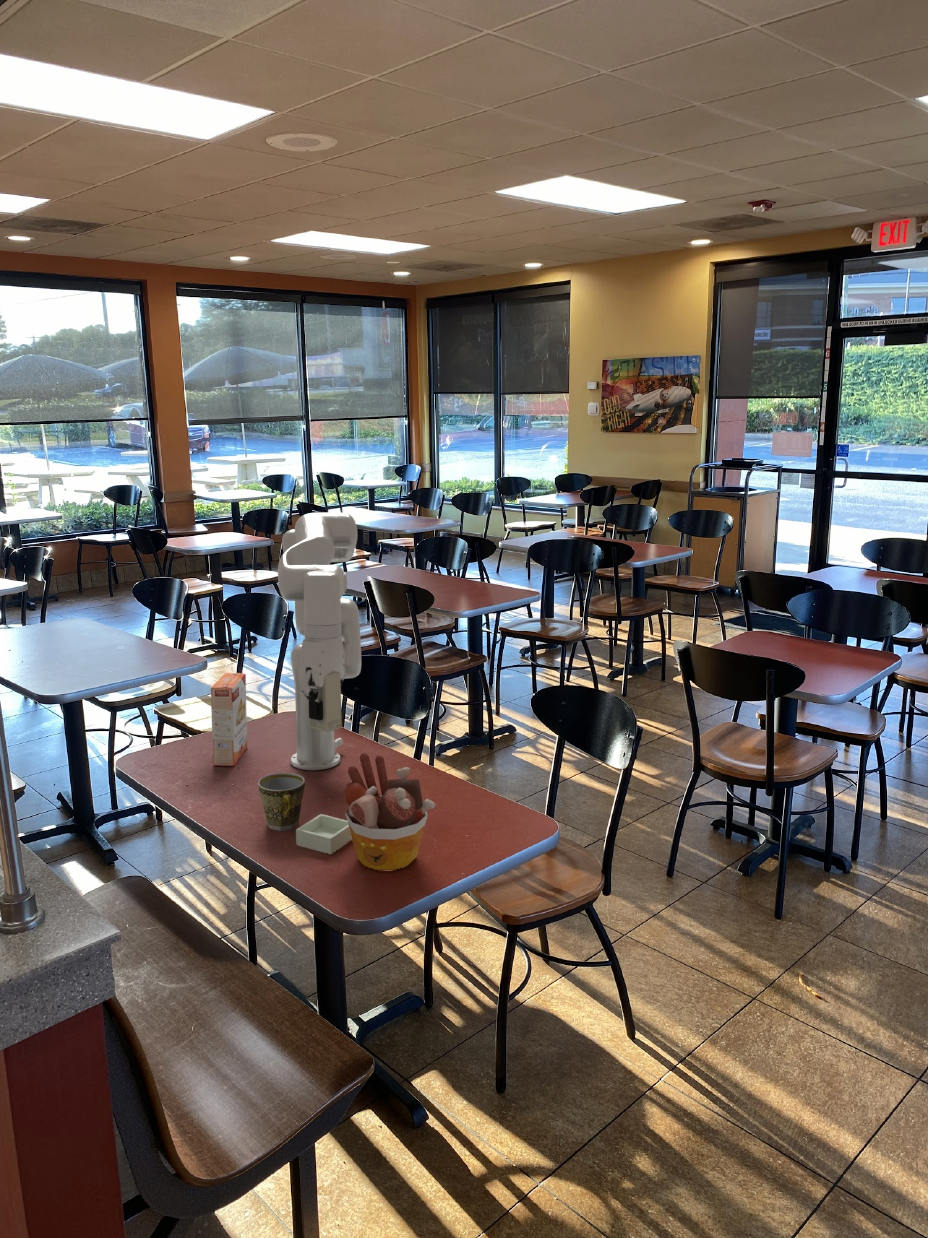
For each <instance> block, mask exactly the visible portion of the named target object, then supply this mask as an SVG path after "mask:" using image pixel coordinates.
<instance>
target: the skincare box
mask: <svg viewBox="0 0 928 1238" xmlns="http://www.w3.org/2000/svg"><path fill="white" fill-rule="evenodd" d="M313 686H315V683H314V685H313ZM341 687H342V686H341V683H340V672H335V673H333V674H330V675H327V676H325V683H324V687H322V695H321V700H320V701H322V702H323V719H322V720H315V719H310V718H309V701H308V719H309V727H312V728H315V729H318V730H321V731H324V732H330V731H333V730H334V731H336V730H337V731H338V730H339V729H342V727H343V723H342V722H343V721H342V716H343V715H342V689H341ZM313 692H314V693H315V694H316V692H317V689H313Z"/></svg>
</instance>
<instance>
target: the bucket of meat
mask: <svg viewBox="0 0 928 1238" xmlns="http://www.w3.org/2000/svg"><path fill="white" fill-rule="evenodd" d="M359 760H360V766H361V768H362V771H363V776H364V780H365V781H363V778H362V776H361V774H360V772H359V770H358V768H357V767H356V766H354V765H351V766H349V767H348V769H347V775H348V776H349V778H350V780H351V782H348V783H347V784H346V786H345V788H344V790H343V793H344V798H345V802H346V804H347V805H348V806H349V808H348V809H347V810H346V811H345V812H344V814H345V817H346V820H347V821H348V824H349V828H350V832H351V836H352V840H351V841H352V845H353V848H354V852H355V856H356V857H357V858H358V860H359V862H360V863H361V864H362V865H363V866H364V867H365V866H367V867H366V868H368V867H370V868H373V869H375V870H374V871H376V870H395V871H397V870H396V869H399V868H402V867H404V866H407V867H408V866H409V865H410V864H411V863H412V862H413V861H414V860H415V859H416V858H417V857H418V856H419V852H420V846H421V843H422V840H423V839H422V838H423V834H424V831H425V826H426V822H427V819H428V816H429V814H428V810H433V809H434V808H435V807H436V804H435V802H434V801H432V800H430V799H429V798H426V799H425V800H424V801H423V796H422V790H421V784H420V780H419V779H408V776H409V775H410V773H411V769H410V767H407V766H405V767H402V768H399V769H396V771H395V774H396V775H397V776H398V777H399V778H395V779H394V778H392V779H388V774H387V768H386V763H385V758H384V757H383V755H381V754H380V755H378V754H377V755H376V756H375V761H374V762H375V766H376V772H377V776H378V781H379V786H380V793H381V795H380V794H379V791H378V790H379V789H378V787H377V784H376V780H375V776H374V775H375V774H374V772H373V768H372V764H371V760H370V756H369V755H368V754H367V753H366V752H363V753H361V754H360V756H359ZM364 782H365V783H364ZM365 784H366V785H365ZM370 868H369V869H370ZM373 869H372V870H373ZM402 869H403V868H402ZM399 870H400V869H399Z"/></svg>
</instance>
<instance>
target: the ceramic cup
mask: <svg viewBox="0 0 928 1238" xmlns="http://www.w3.org/2000/svg"><path fill="white" fill-rule="evenodd" d="M305 779H306V778H305V777H303V776H302V775H300V774H298V773H292V772H278V773H277V772H276V773H271V774H269V775H265V776H263V777H261V778H260V779H259V780H258V782H257V785H258V791H259V796H260V799H261V803H262V807H263V811H264V815H265V821H266V824H267V826H268V828H269V829H270V830H273V831H279V832H284V831H288V830H289V829H290V830H293V829H294V828H295V827H296V826H298V825H299V822H300V818H301V811H302V806H303V805H302V804H303V799H304V793H305V788H306V786H305V785H306V780H305Z"/></svg>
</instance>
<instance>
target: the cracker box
mask: <svg viewBox="0 0 928 1238" xmlns="http://www.w3.org/2000/svg"><path fill="white" fill-rule="evenodd" d="M210 704H211V707H210V711H211V733H212V734H211V736H212V738H211V739H212V742H211V743H212V765H213V766H214V767H218V766H219V767H235V766H236V764H237V762H238V761H239V760H240V759H241V757H242V756H243V754H244V753H245V751H246V750H247V748H248V729H247V728H248V723H247V721H248V720H247V716H248V715H247V675H246V673H242V672H241V673H240V672H225V673H224V674H223V675H222V676H220V678H219V679H218V680H217V681H216V682H215V683H214V684H213V685H212V686H211V687H210Z"/></svg>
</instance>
